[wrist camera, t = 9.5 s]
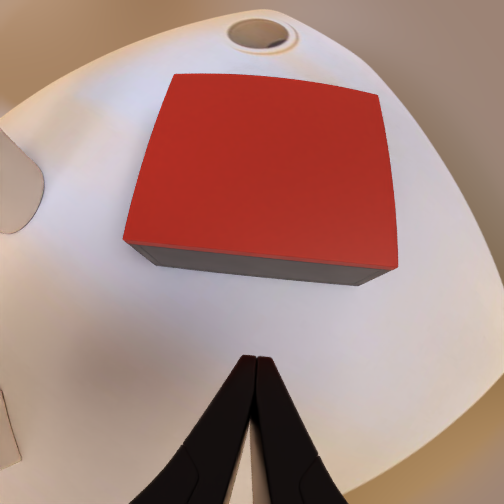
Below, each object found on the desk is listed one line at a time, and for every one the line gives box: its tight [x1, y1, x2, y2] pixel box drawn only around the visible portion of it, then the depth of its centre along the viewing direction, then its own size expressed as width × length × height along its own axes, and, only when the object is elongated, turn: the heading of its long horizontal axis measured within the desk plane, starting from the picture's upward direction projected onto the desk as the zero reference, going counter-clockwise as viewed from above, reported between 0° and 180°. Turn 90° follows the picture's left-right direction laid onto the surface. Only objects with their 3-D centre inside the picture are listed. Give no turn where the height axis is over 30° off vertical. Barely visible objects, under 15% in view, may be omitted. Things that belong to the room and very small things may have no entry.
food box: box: [129, 244, 391, 286], centre depth 21 cm, size 12×15×6 cm
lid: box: [123, 74, 398, 270], centre depth 18 cm, size 13×15×1 cm
